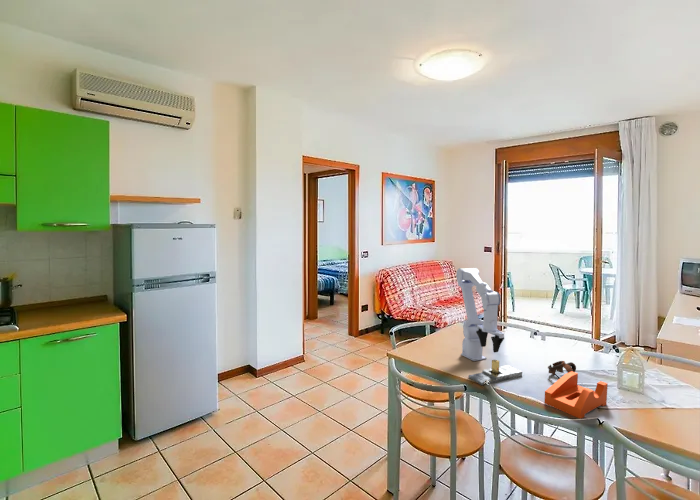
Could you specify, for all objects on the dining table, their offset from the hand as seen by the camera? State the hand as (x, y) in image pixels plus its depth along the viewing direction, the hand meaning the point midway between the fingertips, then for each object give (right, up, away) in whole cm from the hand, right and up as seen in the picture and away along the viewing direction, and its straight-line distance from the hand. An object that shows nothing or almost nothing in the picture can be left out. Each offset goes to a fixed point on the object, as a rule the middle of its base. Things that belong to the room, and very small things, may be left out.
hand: (489, 349), depth 167 cm
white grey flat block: (0, -10, -7) cm, 12 cm away
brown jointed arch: (+28, -10, -8) cm, 31 cm away
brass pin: (0, -10, -7) cm, 12 cm away
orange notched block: (+20, -13, -30) cm, 38 cm away
